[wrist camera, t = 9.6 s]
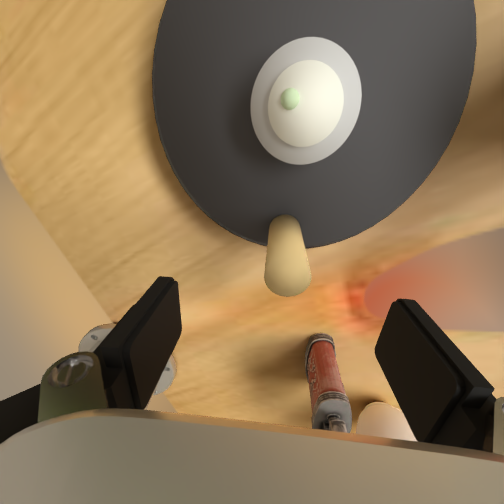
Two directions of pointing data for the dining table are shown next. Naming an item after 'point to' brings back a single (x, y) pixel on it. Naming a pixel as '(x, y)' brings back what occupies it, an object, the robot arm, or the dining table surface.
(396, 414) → the sauce bottle
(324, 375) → the lighter
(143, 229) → the dining table surface
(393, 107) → the wheel
